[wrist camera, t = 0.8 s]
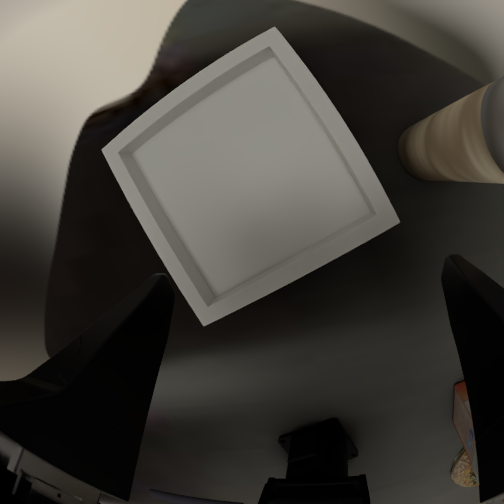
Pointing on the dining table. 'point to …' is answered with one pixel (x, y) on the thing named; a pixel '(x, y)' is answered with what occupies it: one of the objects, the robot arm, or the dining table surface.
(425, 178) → the handle post
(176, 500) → the dark grey t-shape
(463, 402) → the cracker box
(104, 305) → the dining table surface
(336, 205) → the tray
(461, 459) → the bread roll
